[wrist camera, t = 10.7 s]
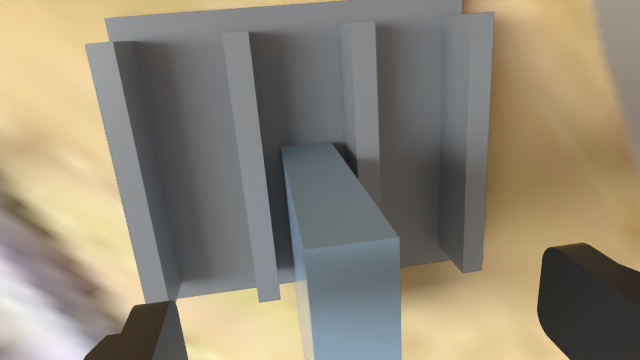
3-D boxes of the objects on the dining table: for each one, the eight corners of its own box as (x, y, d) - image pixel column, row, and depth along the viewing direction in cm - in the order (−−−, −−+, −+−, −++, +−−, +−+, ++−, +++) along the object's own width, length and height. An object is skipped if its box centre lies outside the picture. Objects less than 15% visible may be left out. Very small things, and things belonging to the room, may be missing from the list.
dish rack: (115, 19, 20) (77, 15, 16) (449, -5, 22) (495, -15, 18) (170, 285, 25) (153, 336, 20) (444, 247, 26) (481, 287, 22)
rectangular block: (280, 147, 22) (304, 249, 11) (330, 141, 22) (399, 237, 11) (298, 319, 25) (330, 523, 14) (342, 313, 25) (404, 509, 15)
